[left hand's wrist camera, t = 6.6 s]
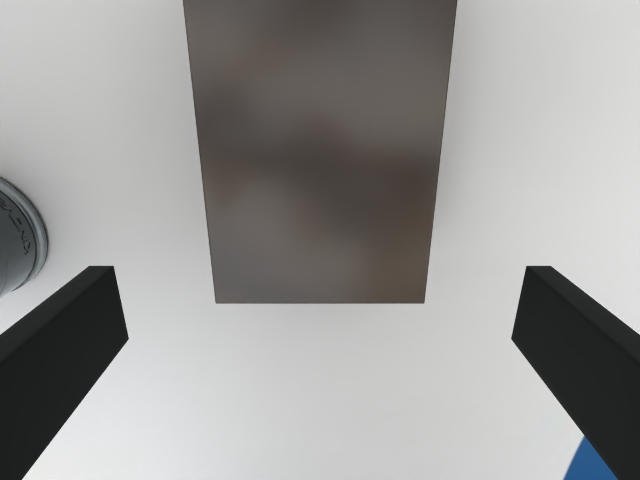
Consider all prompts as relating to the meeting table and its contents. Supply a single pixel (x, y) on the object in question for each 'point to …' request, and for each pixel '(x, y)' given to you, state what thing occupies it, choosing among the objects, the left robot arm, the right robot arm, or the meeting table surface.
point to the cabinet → (320, 144)
